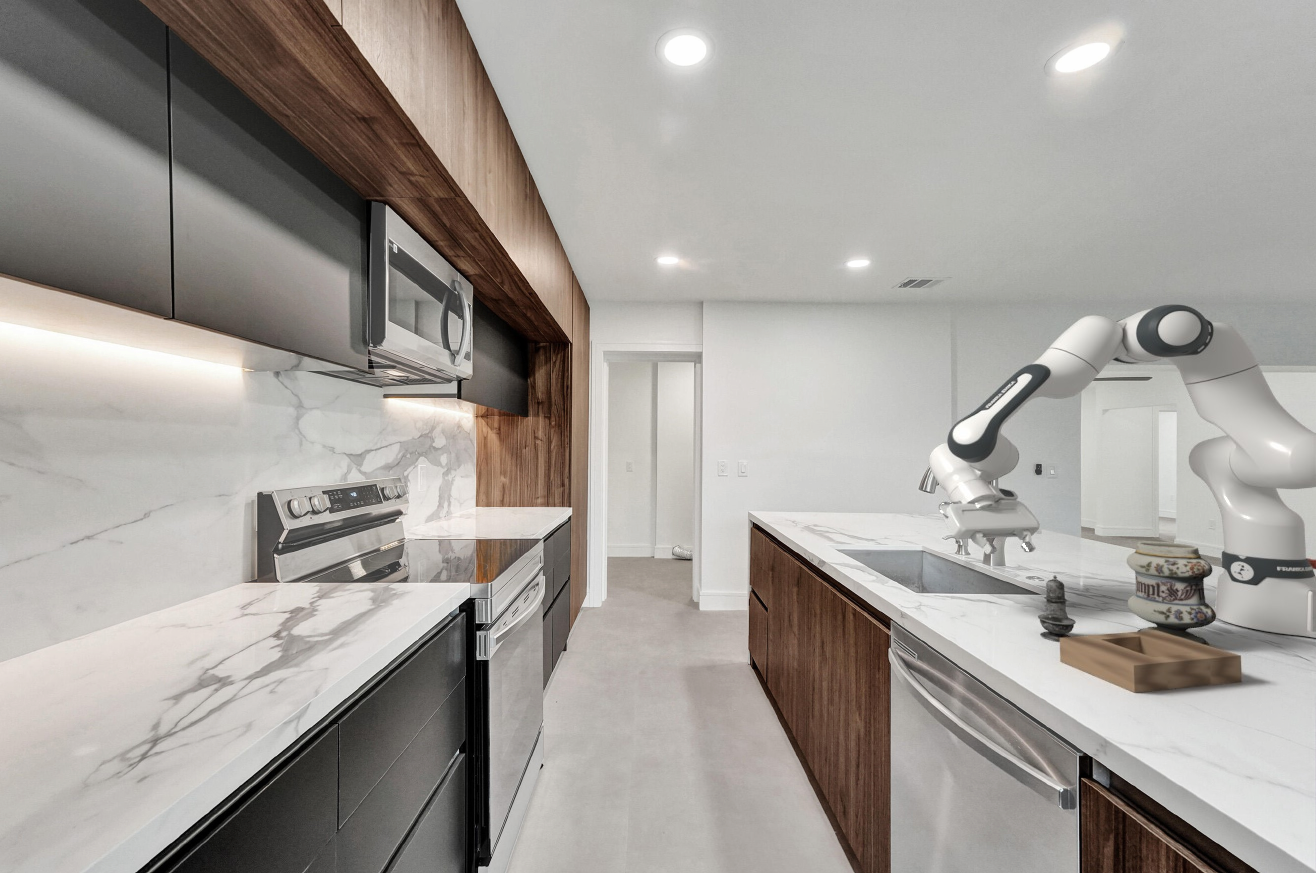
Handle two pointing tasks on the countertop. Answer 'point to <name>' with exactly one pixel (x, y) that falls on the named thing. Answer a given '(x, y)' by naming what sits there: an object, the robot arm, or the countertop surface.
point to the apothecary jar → (1171, 588)
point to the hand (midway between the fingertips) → (1011, 551)
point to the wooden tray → (1150, 660)
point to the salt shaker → (1055, 612)
